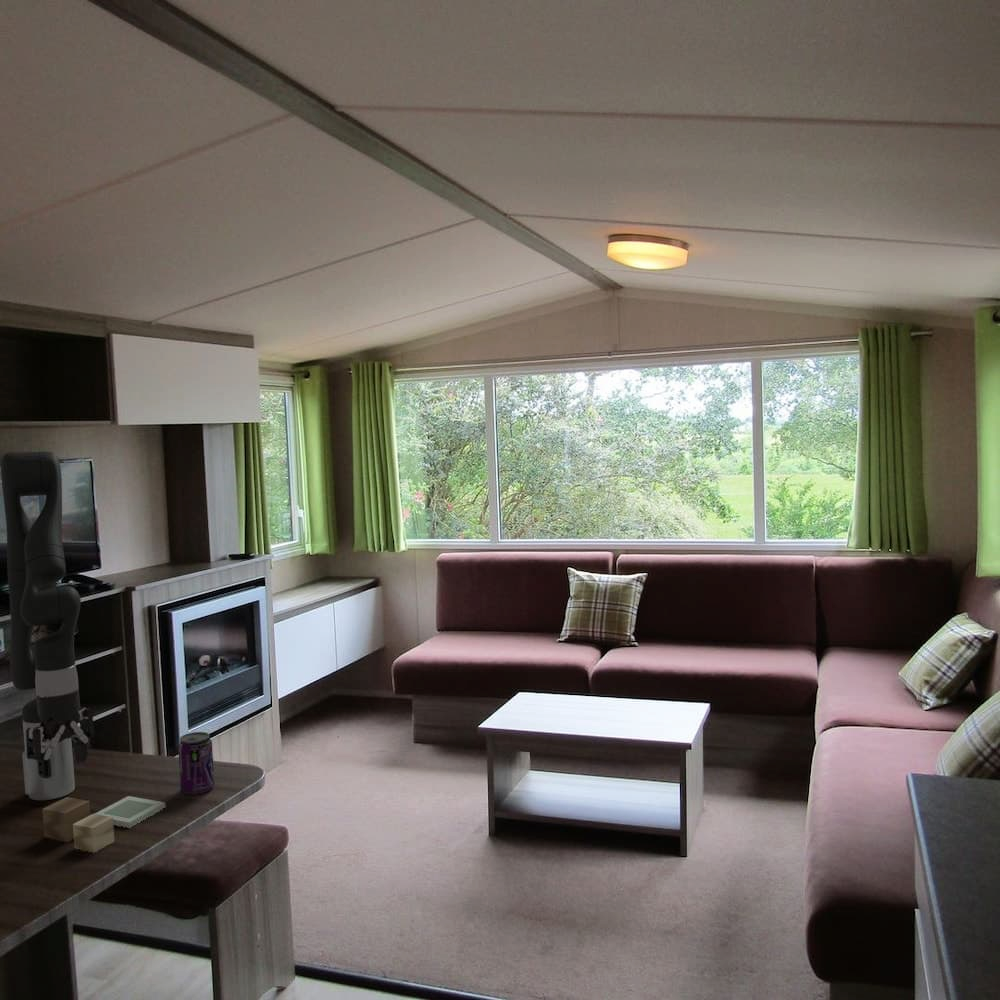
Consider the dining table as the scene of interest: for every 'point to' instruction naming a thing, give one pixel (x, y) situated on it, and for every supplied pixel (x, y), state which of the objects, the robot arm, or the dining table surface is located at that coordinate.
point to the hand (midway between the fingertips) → (63, 769)
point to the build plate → (131, 811)
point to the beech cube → (93, 833)
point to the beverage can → (196, 763)
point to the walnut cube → (64, 817)
